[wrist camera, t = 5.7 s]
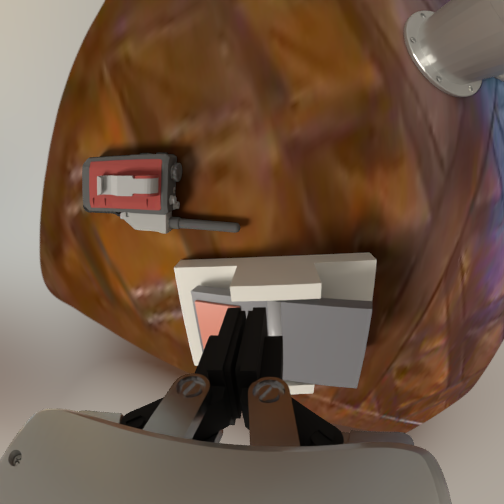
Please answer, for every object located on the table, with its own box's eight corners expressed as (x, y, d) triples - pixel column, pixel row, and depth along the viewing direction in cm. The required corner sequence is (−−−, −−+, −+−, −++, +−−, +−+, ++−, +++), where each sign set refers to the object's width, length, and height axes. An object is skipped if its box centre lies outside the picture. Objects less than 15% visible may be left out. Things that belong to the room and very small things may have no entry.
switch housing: (369, 252, 30) (394, 278, 23) (357, 349, 34) (371, 386, 27) (180, 259, 32) (157, 287, 25) (198, 354, 36) (184, 391, 29)
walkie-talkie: (91, 222, 32) (241, 234, 31) (71, 231, 28) (235, 246, 27) (90, 156, 29) (246, 155, 28) (68, 157, 25) (242, 154, 24)
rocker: (371, 299, 24) (372, 310, 22) (357, 377, 27) (356, 390, 25) (199, 284, 30) (189, 292, 28) (211, 355, 33) (203, 364, 31)
